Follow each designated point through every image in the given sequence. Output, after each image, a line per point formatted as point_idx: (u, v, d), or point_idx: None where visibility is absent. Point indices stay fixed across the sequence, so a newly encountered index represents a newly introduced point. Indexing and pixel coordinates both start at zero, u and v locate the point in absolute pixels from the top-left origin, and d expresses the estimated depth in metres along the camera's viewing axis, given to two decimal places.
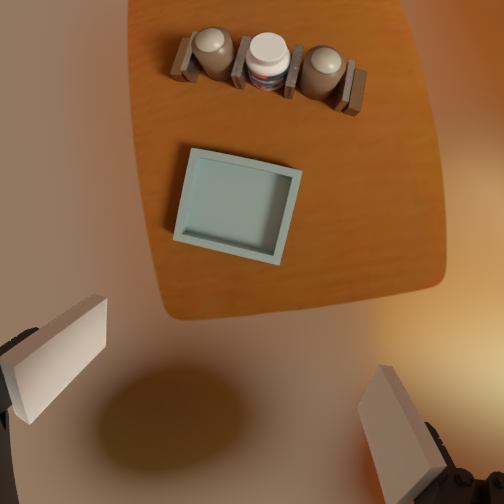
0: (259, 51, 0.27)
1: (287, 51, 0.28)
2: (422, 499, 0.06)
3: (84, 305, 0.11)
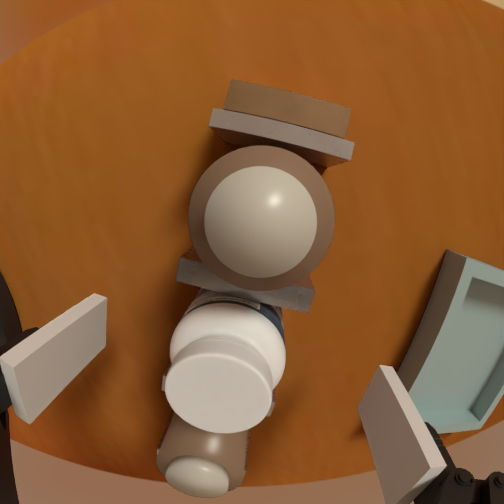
0: (235, 417, 0.10)
1: (210, 318, 0.12)
2: (422, 499, 0.06)
3: (84, 305, 0.11)
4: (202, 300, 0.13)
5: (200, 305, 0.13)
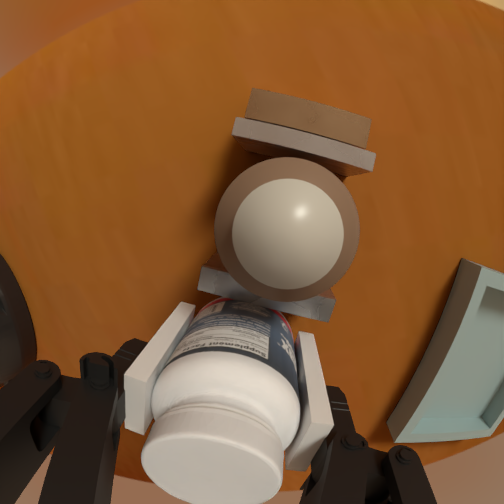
0: (234, 497, 0.06)
1: (200, 373, 0.08)
2: (313, 466, 0.08)
3: (179, 314, 0.13)
4: (192, 343, 0.10)
5: (188, 352, 0.09)
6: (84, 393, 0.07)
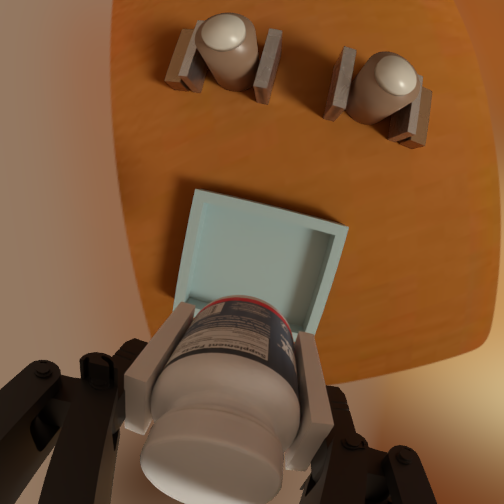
0: (234, 499, 0.06)
1: (199, 375, 0.08)
2: (313, 466, 0.08)
3: (179, 314, 0.13)
4: (191, 344, 0.10)
5: (188, 353, 0.09)
6: (84, 393, 0.07)
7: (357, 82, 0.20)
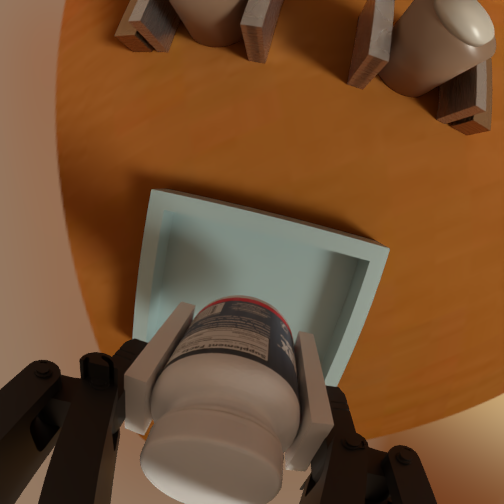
0: (233, 499, 0.06)
1: (199, 375, 0.08)
2: (313, 466, 0.08)
3: (179, 314, 0.13)
4: (191, 344, 0.10)
5: (188, 353, 0.09)
6: (84, 393, 0.07)
7: (403, 25, 0.10)
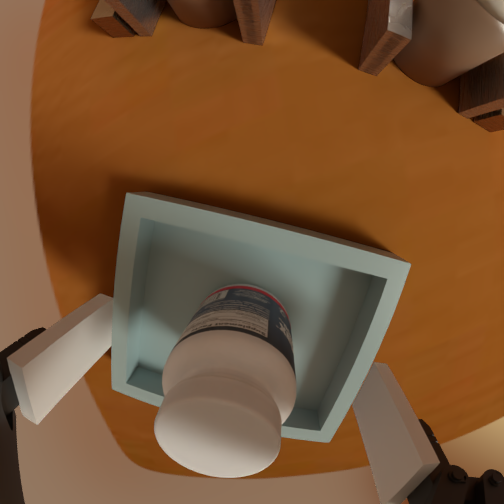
0: (237, 463, 0.08)
1: (208, 348, 0.10)
2: (415, 496, 0.06)
3: (90, 305, 0.11)
4: (200, 324, 0.11)
5: (197, 331, 0.11)
6: None
7: (426, 0, 0.07)
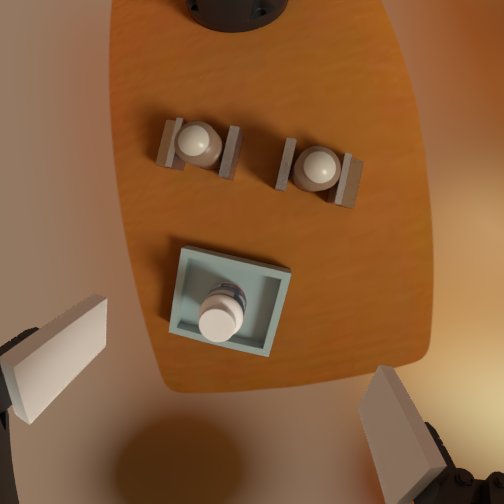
0: (222, 334, 0.31)
1: (214, 299, 0.33)
2: (422, 499, 0.06)
3: (84, 305, 0.11)
4: (211, 294, 0.35)
5: (211, 295, 0.34)
6: None
7: (294, 169, 0.32)
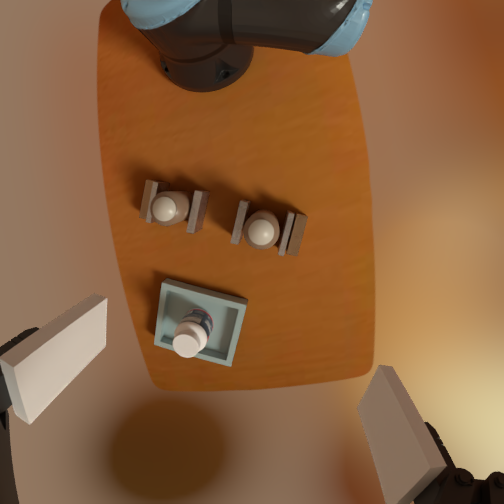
0: (190, 351, 0.41)
1: (185, 325, 0.43)
2: (422, 499, 0.06)
3: (84, 305, 0.11)
4: (183, 320, 0.45)
5: (183, 321, 0.44)
6: None
7: None
